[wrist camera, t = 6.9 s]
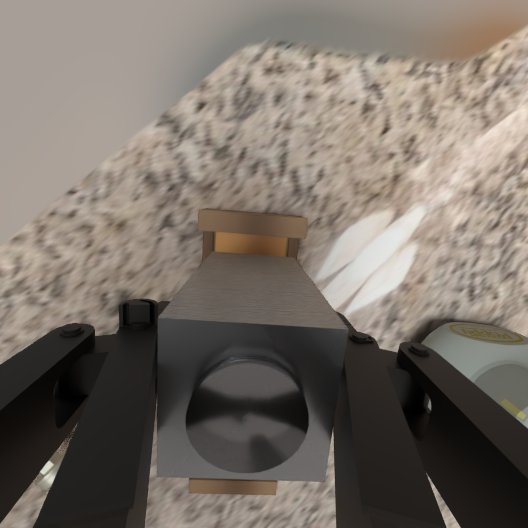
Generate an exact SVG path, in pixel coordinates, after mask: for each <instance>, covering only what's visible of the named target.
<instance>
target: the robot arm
mask: <svg viewBox="0 0 528 528" xmlns="http://www.w3.org/2000/svg"><path fill="white" fill-rule="evenodd" d="M169 303H170V301H161V302H159V303H157V302H156V301H154V300H150V299H133V300H128V301H125V302H123V303H121V304H120V305H119V329H118V331H117V334H111V335H102V336H95V329H94V327H93V326H91V325H89V324H78V323H72V324H67V325H65V326H62V327H59V328H57V329H54V330H52V331H51V332H49V333H48V334H46V335H45V336H43V337H42V338H40V339H39V340H37V341H36V342H34V343H33V344H31V345H30V346H28V347H27V348H25V349H24V350H22V351H20V352H19V353H17V354H16V355H14V356H13V357H11V358H10V359H8V360H7V361H5V362H4V363H2V364H1V365H0V523H1V522H2V521H3V519H4V518H5V517H6V515H7V514H8V513H9V512H10V510H11V509H12V508H13V506H14V505H15V504H16V502H17V501H18V500H19V499H20V497H21V496H22V495H23V493H24V492H25V491H26V489H27V488H28V487H29V486H30V484H31V483H32V482H33V480H34V479H35V478H36V476H37V475H38V474H39V473H40V471H41V470H42V469H43V467H44V466H45V465H46V463H47V462H48V461H49V460H50V458H51V457H52V456H53V454H54V453H55V452H56V450H57V449H58V448H59V447H60V445H61V444H62V443H63V441H64V440H65V439H66V437H67V436H68V435H69V434H70V432H71V431H72V430H73V428H74V427H75V426H76V424H77V423H78V425H77V427H76V429H75V432H74V434H73V436H72V439H71V441H70V443H69V446H68V448H67V450H66V453H65V455H64V457H63V460H62V462H61V464H60V467H59V469H58V471H57V474H56V476H55V478H54V481H53V483H52V485H51V488H50V490H49V492H48V495H47V497H46V499H45V502H44V504H43V506H42V509H41V511H40V513H39V516H38V518H37V520H36V522H35V524H34V526H33V528H145V517H146V507H147V496H148V485H149V475H150V464H151V453H152V443H153V432H154V422H155V411H156V400H157V368H158V317H159V316H160V314H161V313H162V312H163V311H164V309H165V308H166V307H167V306H168V305H169ZM336 313H337V315H338V316H339V317H340V319H341V320H342V321H343V323H344V324H345V325H346V327H347V328H348V329H349V330H348V337H347V343H346V349H345V355H344V362H343V368H342V374H341V381H340V387H339V393H338V399H337V406H336V412H335V418H334V425H333V432H334V465H335V498H336V528H446V525H445V522H444V520H443V517H442V514H441V512H440V509H439V506H438V504H437V501H436V498H435V496H434V493H433V490H432V488H431V485H430V482H429V480H428V477H427V474H428V476H429V477H430V479H431V481H432V482H433V484H434V485H435V487H436V489H437V490H438V492H439V493H440V495H441V497H442V498H443V500H444V501H445V503H446V505H447V506H448V508H449V509H450V511H451V513H452V514H453V516H454V517H455V519H456V521H457V522H458V524H459V525H460V527H461V528H528V428H527V427H526V426H524V425H523V424H522V423H521V422H520V421H518V420H517V419H516V418H515V417H514V416H512V415H511V414H510V413H509V412H508V411H506V410H505V409H504V408H503V407H502V406H500V405H499V404H498V403H497V402H496V401H494V400H493V399H492V398H491V397H490V396H488V395H487V394H486V393H485V392H484V391H482V390H481V389H480V388H479V387H478V386H477V385H475V384H474V383H473V382H472V381H471V380H469V379H468V378H467V377H466V376H465V375H463V374H462V373H461V372H460V371H459V370H457V369H456V368H455V367H454V366H453V365H451V364H450V363H449V362H448V361H447V360H445V359H444V358H443V357H442V356H441V355H439V354H438V353H437V352H436V351H434V350H433V349H431V348H429V347H427V346H425V345H423V344H419V343H416V342H414V343H412V342H403V343H401V344H400V346H399V350H398V353H397V352H392V351H388V350H383V349H380V348H379V346H378V344H377V341H376V340H375V339H374V338H373V337H371V336H369V335H367V334H364V333H361V332H357V331H356V330H355V329H354V327H353V326H352V325H351V324H350V322H349V321H348V320H347V319H346V317H345V316H344V315H342V314H340V313H338V312H336ZM429 400H430V402H431V410H430V409H429V408H428V404H429ZM425 471H426V472H425ZM426 473H427V474H426Z"/></svg>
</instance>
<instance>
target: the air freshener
mask: <svg viewBox="0 0 528 528" xmlns="http://www.w3.org/2000/svg"><path fill="white" fill-rule="evenodd" d="M421 344H423V345H425V346H427V347H429V348H431V349H433V350H434V351H436V352H437V353H438V354H439V355H441V356H442V357H443V358H444V359H445V360H447V361H448V362H449V363H450V364H451V365H453V366H454V367H455V368H456V369H457V370H459V371H460V372H461V373H462V374H463V375H465V376H466V377H467V378H468V379H469V380H471V381H472V382H473V383H474V384H475V385H477V386H478V387H479V388H480V389H481V390H482V391H484V392H485V393H486V394H487V395H488V396H490V397H491V398H492V399H493V400H494V401H496V402H497V403H498V404H499V405H500V406H502V407H503V408H504V409H505V410H506V411H508V412H509V413H510V414H511V415H512V416H514V417H515V418H516V419H517V420H518V421H520V422H521V423H522V424H523V425H524V426H526V427H527V428H528V338H527V337H525V336H523V335H521V334H518V333H516V332H513V331H510V330H506V329H502V328H498V327H494V326H489V325H483V324H476V323H467V322H450V323H446V324H444V325H441V326H440V327H438V328H437V329H435V330H434V331H433V332H431V333H430V334H429V335H428V336H427V337H426V338H425V339H424V341H423V342H422V343H421ZM428 408H429V409H430V410H431V402H430V400H429V404H428Z"/></svg>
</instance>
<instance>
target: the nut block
mask: <svg viewBox="0 0 528 528" xmlns="http://www.w3.org/2000/svg"><path fill="white" fill-rule="evenodd" d="M348 330H349V329H348V328H347V327H346V325H345V324H344V323H343V321H342V320H341V319H340V317H339V316H338V315H337V313H336V312H335V311H334V309H333V308H332V307H331V305H330V304H329V303H328V301H327V300H326V299H325V297H324V296H323V295H322V293H321V292H320V291H319V289H318V288H317V287H316V285H315V284H314V283H313V281H312V280H311V279H310V277H309V276H308V275H307V273H306V272H305V271H304V270H303V268H302V267H301V266H300V264H299V263H298V262H297V260H296V259H295V258H294V257H282V256H269V255H256V254H243V253H230V252H216V251H212V252H211V253H210V254H209V256H208V257H207V258H206V259H205V260H204V262H203V263H202V264H201V265H200V267H199V268H198V269H197V270H196V271H195V273H194V274H193V275H192V276H191V278H190V279H189V280H188V281H187V282H186V284H185V285H184V286H183V287H182V289H181V290H180V291H179V292H178V293H177V295H176V296H175V297H174V298H173V300H172V301H171V302H170V303H169V305H168V306H167V307H166V308H165V309H164V311H163V312H162V313H161V314H160V316H159V317H158V368H157V477H184V478H216V479H249V480H281V481H314V482H324V481H325V475H326V469H327V462H328V456H329V450H330V443H331V437H332V431H333V425H334V418H335V412H336V406H337V399H338V393H339V387H340V381H341V374H342V368H343V362H344V355H345V349H346V343H347V337H348Z"/></svg>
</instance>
